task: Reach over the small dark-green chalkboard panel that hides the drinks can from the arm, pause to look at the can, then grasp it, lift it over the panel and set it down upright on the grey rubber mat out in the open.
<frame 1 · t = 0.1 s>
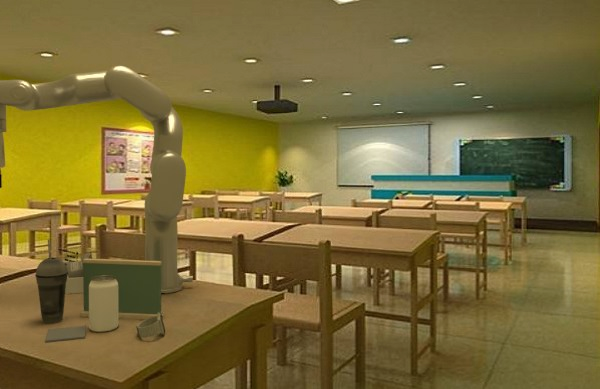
chalkboard panel: (122, 315, 128), on the table
tool caddy: (75, 282, 162), on the table
can: (103, 328, 119), on the table
voltmeter: (75, 283, 162), resting in tool caddy
grey mat: (66, 334, 114), on the table
beverage cup: (52, 321, 124), on the table
wristwatch: (150, 335, 115), on the table
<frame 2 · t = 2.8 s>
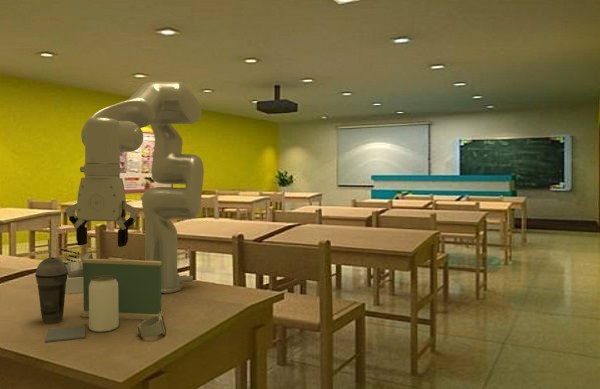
hand: (102, 245, 117), 20 cm above the table, tool pointing down, fingers open, 9 cm apart
nothing on the table moved.
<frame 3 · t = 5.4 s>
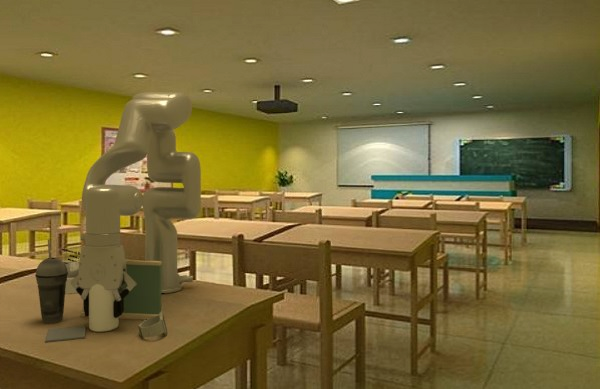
hand: (103, 314, 118), 3 cm above the table, tool pointing down, fingers closed on can, 6 cm apart
can: (104, 328, 119), on the table, touching gripper
everything else where it was.
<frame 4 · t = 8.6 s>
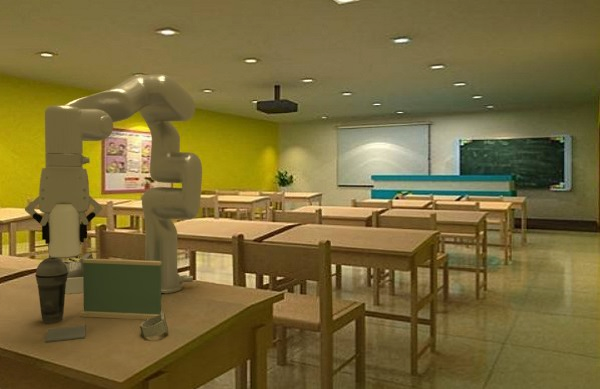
hand: (65, 241, 112), 21 cm above the table, tool pointing down, fingers closed on can, 6 cm apart
can: (65, 256, 113), point 18 cm above the table, touching gripper
everything else where it was.
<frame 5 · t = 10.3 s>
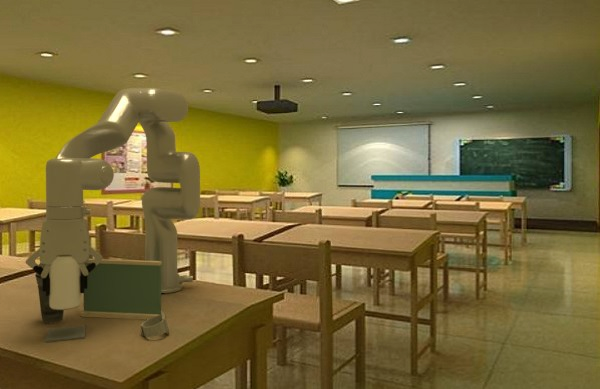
hand: (65, 292, 113), 10 cm above the table, tool pointing down, fingers closed on can, 6 cm apart
can: (65, 307, 113), point 6 cm above the table, touching gripper
everything else where it was.
when the fingers open (5 cm above the table, at t = 11.9 s): can drops 1 cm, resting on grey mat.
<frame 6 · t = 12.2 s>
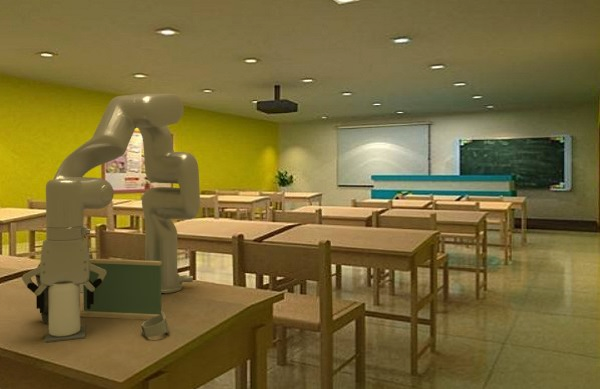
hand: (65, 309, 113), 6 cm above the table, tool pointing down, fingers open, 9 cm apart
can: (64, 333, 114), resting on grey mat
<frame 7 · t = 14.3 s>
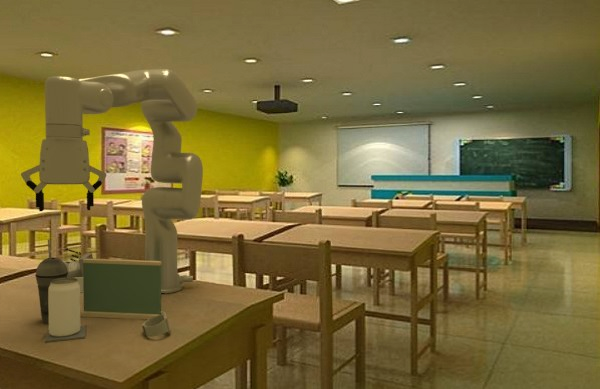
hand: (65, 210, 113), 28 cm above the table, tool pointing down, fingers open, 9 cm apart
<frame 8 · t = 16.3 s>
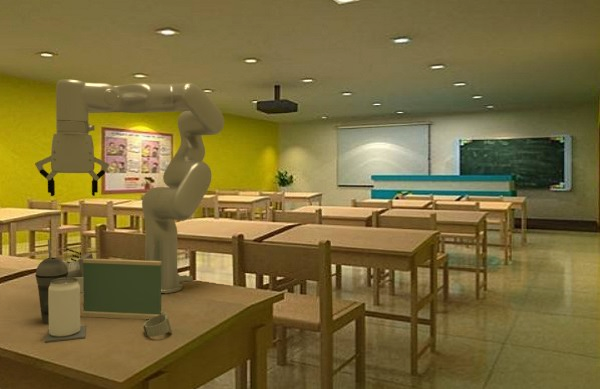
hand: (73, 195, 130), 30 cm above the table, tool pointing down, fingers open, 9 cm apart
at the end: can 0.3 cm from the grey mat (horizontally); can resting on grey mat; can tilted 0° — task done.
